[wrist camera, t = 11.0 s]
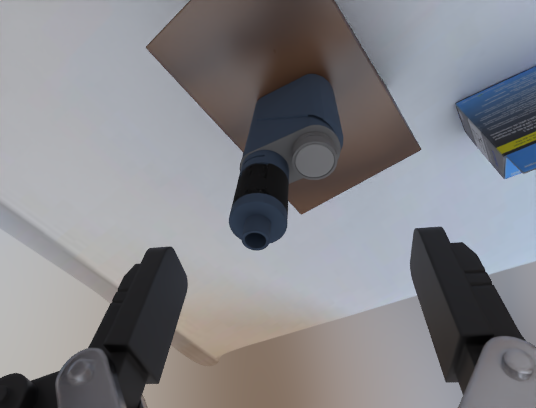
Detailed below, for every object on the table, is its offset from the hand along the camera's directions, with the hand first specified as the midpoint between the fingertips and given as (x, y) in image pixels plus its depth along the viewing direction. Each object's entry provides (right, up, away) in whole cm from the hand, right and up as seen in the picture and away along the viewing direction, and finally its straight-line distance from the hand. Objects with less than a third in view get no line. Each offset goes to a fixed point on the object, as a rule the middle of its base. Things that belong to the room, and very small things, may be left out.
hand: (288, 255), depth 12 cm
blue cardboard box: (+22, +12, +20) cm, 32 cm away
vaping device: (+1, +8, +10) cm, 13 cm away
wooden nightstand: (+2, +15, +19) cm, 24 cm away
